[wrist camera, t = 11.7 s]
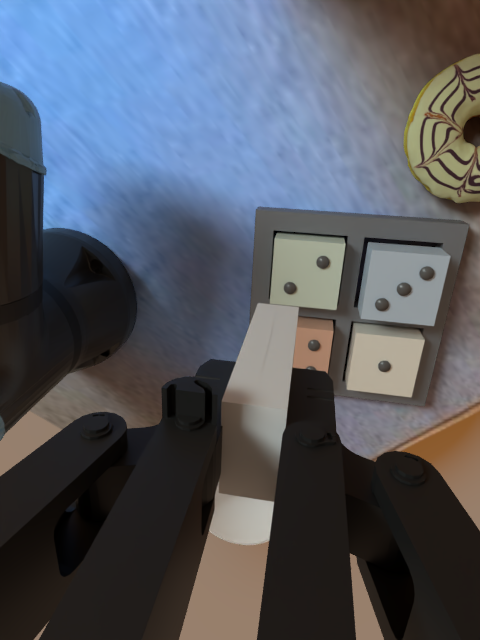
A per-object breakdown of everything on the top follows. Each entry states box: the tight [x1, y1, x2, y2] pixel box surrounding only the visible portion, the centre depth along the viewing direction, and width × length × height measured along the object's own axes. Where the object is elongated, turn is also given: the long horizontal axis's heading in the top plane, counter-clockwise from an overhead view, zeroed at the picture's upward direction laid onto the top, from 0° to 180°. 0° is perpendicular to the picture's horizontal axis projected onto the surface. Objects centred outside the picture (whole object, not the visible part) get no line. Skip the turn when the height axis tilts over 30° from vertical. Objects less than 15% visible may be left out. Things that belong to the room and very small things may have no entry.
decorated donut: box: [404, 54, 480, 203], centre depth 34 cm, size 10×11×4 cm
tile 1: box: [345, 321, 425, 397], centre depth 41 cm, size 6×6×3 cm
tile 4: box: [293, 316, 334, 374], centre depth 42 cm, size 6×6×3 cm
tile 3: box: [358, 242, 450, 326], centre depth 37 cm, size 6×6×3 cm
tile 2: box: [270, 232, 346, 310], centre depth 39 cm, size 6×6×3 cm
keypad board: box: [249, 207, 469, 406], centre depth 42 cm, size 18×18×2 cm
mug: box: [209, 482, 274, 545], centre depth 45 cm, size 12×9×12 cm
